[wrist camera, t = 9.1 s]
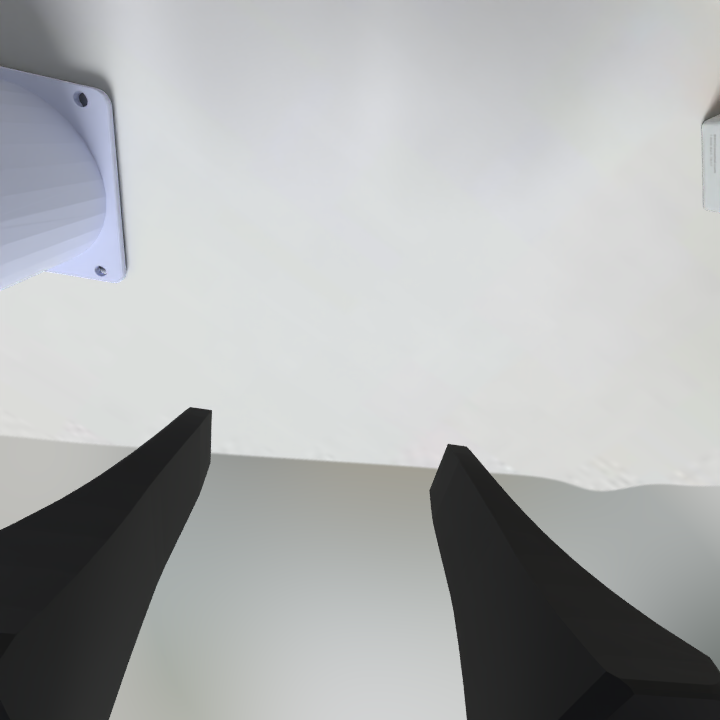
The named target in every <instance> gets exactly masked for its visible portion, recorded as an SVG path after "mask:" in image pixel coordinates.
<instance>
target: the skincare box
mask: <svg viewBox="0 0 720 720" xmlns="http://www.w3.org/2000/svg"><path fill="white" fill-rule="evenodd" d="M701 129H702V154H703V204H704V209H705V210H707V211H711V212H716V213H720V114H719V115H717V116H715V117H712V118H710V119H708V120H706V121H705V122H704V123H703V125H702V127H701Z"/></svg>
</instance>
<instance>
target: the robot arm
mask: <svg viewBox="0 0 720 720" xmlns="http://www.w3.org/2000/svg"><path fill="white" fill-rule="evenodd" d="M81 93H84V94H85V96H86V97H87V100H88V103H87V105H86V106H85V107H84V106H83V105H82V104H81V103H80V100H79V95H80V94H81ZM99 266H102V267H103V268H104V269H105V270H106V272H107V273H106V274H104V273H102V272H101V271H100V269H99ZM44 271H46V272H52V273H58V274H64V275H70V276H76V277H82V278H88V279H93V280H99V281H105V282H111V283H118V282H120V281H122V280H123V279H124V278H125V277H126V265H125V253H124V241H123V230H122V218H121V206H120V194H119V182H118V171H117V159H116V147H115V135H114V124H113V112H112V104H111V100H110V99H109V97H108V95H107V94H106V93H105V92H104V91H102V90H100V89H98V88H94V87H90V86H85V85H81V84H76V83H72V82H68V81H63V80H59V79H55V78H50V77H46V76H41V75H37V74H33V73H28V72H24V71H20V70H15V69H11V68H6V67H2V66H0V291H2V290H4V289H6V288H8V287H11V286H13V285H15V284H17V283H19V282H22V281H24V280H26V279H28V278H31V277H33V276H35V275H37V274H40V273H42V272H44ZM211 421H212V410H206V409H199V408H192V407H190V408H188V409H187V410H186V411H184V412H183V413H182V414H181V415H179V416H178V417H177V418H176V419H175V420H173V421H172V422H171V423H170V424H169V425H167V426H166V427H165V428H164V429H162V430H161V431H160V432H159V433H157V434H156V435H155V436H154V437H152V438H151V439H150V440H148V441H147V442H146V443H144V444H143V445H142V446H140V447H139V448H138V449H137V450H135V451H134V452H133V453H131V454H130V455H128V456H127V457H126V458H124V459H123V460H121V461H120V462H118V463H117V464H115V465H114V466H113V467H111V468H110V469H108V470H107V471H105V472H104V473H102V474H101V475H100V476H98V477H96V478H95V479H93V480H92V481H90V482H89V483H87V484H85V485H84V486H82V487H80V488H79V489H77V490H75V491H74V492H72V493H70V494H69V495H67V496H65V497H63V498H62V499H60V500H58V501H56V502H54V503H53V504H51V505H49V506H47V507H45V508H43V509H41V510H39V511H37V512H36V513H33V514H31V515H29V516H27V517H25V518H23V519H22V520H20V521H18V522H16V523H14V524H12V525H10V526H8V527H6V528H3V529H1V530H0V720H109V717H110V714H111V712H112V708H113V705H114V703H115V700H116V697H117V694H118V691H119V688H120V685H121V682H122V679H123V677H124V673H125V671H126V668H127V665H128V662H129V659H130V656H131V654H132V651H133V648H134V645H135V643H136V640H137V637H138V634H139V631H140V629H141V626H142V623H143V620H144V618H145V615H146V612H147V610H148V607H149V604H150V602H151V599H152V596H153V593H154V591H155V588H156V586H157V583H158V581H159V579H160V576H161V574H162V572H163V569H164V567H165V565H166V563H167V561H168V559H169V557H170V555H171V553H172V551H173V549H174V547H175V544H176V542H177V540H178V538H179V536H180V534H181V532H182V530H183V528H184V526H185V524H186V522H187V520H188V518H189V515H190V513H191V511H192V509H193V507H194V505H195V502H196V501H197V499H198V497H199V494H200V491H201V489H202V486H203V483H204V480H205V477H206V474H207V471H208V468H209V465H210V457H211ZM430 500H431V510H432V519H433V524H434V529H435V533H436V538H437V542H438V546H439V550H440V554H441V558H442V562H443V566H444V570H445V575H446V579H447V583H448V587H449V591H450V595H451V600H452V605H453V610H454V617H455V624H456V631H457V638H458V645H459V651H460V660H461V668H462V676H463V685H464V694H465V704H466V715H467V720H720V671H719V670H718V668H717V667H716V666H715V664H714V663H713V661H712V660H711V659H710V657H708V656H707V655H705V654H703V653H702V652H700V651H699V650H697V649H696V648H694V647H692V646H691V645H689V644H688V643H686V642H685V641H683V640H682V639H680V638H679V637H677V636H675V635H674V634H672V633H671V632H669V631H668V630H666V629H664V628H663V627H661V626H660V625H658V624H656V622H654V621H653V620H651V619H650V618H648V617H647V616H646V615H644V614H643V613H641V612H640V611H639V610H637V609H636V608H634V607H633V606H631V605H630V604H629V603H627V602H626V601H625V600H623V599H622V598H620V597H619V596H618V595H617V594H615V593H614V592H613V591H611V590H610V589H609V588H607V587H606V586H605V585H604V584H602V583H601V582H600V581H599V580H597V579H596V578H595V577H594V576H592V575H591V574H590V573H588V572H587V571H586V570H585V569H584V568H582V567H581V566H580V565H579V564H578V563H577V562H576V561H574V560H573V559H572V558H571V557H570V556H569V555H568V554H566V553H565V552H564V551H563V550H562V549H561V548H560V547H559V546H558V545H556V544H555V543H554V542H553V541H552V540H551V539H550V538H549V537H548V536H547V535H546V534H545V533H543V531H542V530H541V529H540V528H539V527H538V526H537V525H536V524H535V523H534V522H533V521H532V520H531V519H530V518H529V517H528V516H527V515H526V514H525V513H524V512H523V511H522V510H521V508H520V507H519V506H518V505H517V504H516V503H515V502H514V501H513V500H512V499H511V498H510V496H509V495H508V494H507V493H506V492H505V491H504V490H503V489H502V487H501V486H500V485H499V484H498V483H497V482H496V480H495V479H494V478H493V477H492V476H491V474H490V473H489V472H488V471H487V470H486V468H485V467H484V466H483V465H482V464H481V463H480V461H479V460H478V459H477V458H476V457H475V455H474V454H473V453H472V452H471V451H470V450H469V449H468V448H467V447H465V446H458V445H451V444H448V445H447V448H446V450H445V453H444V455H443V458H442V460H441V463H440V465H439V468H438V471H437V473H436V476H435V478H434V481H433V483H432V486H431V488H430Z"/></svg>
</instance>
